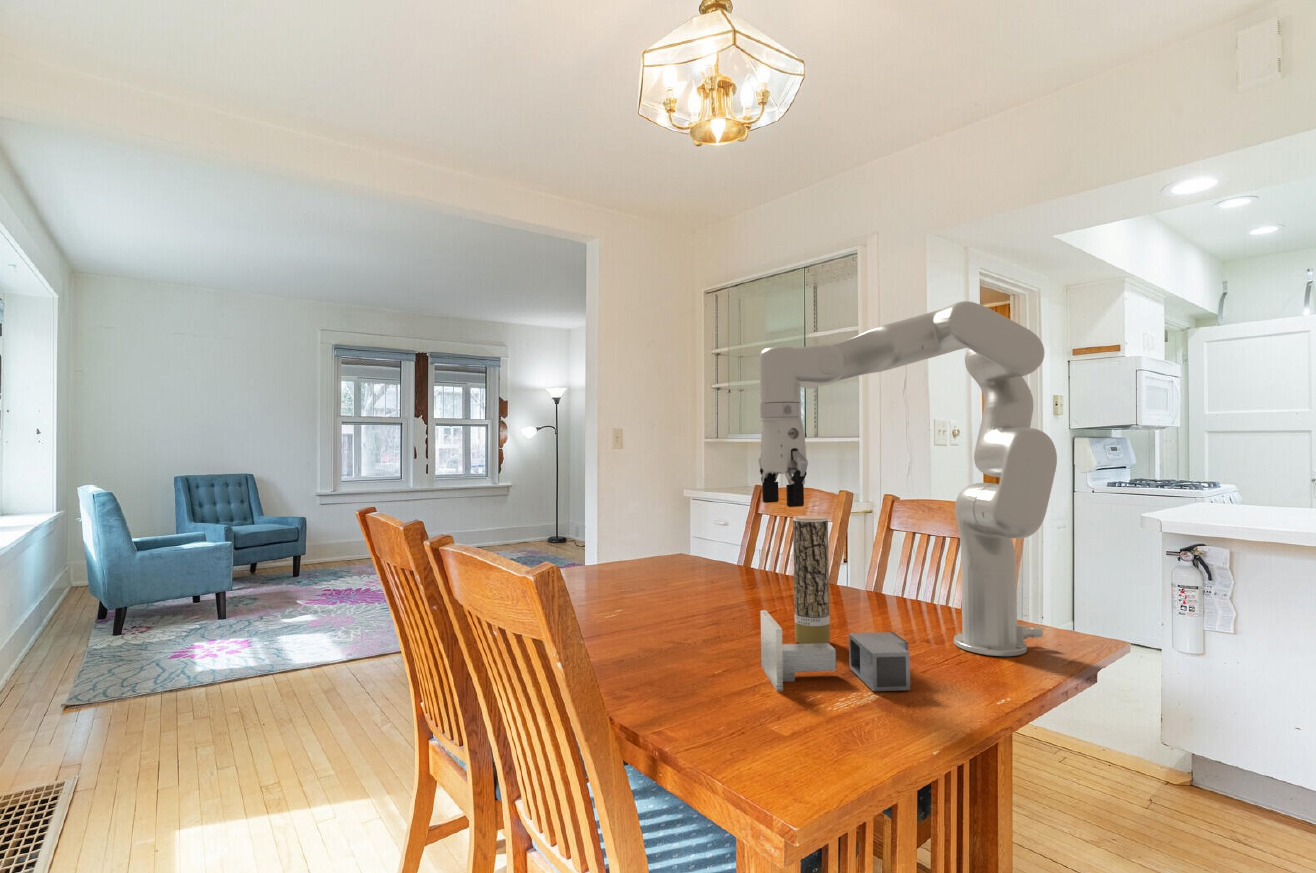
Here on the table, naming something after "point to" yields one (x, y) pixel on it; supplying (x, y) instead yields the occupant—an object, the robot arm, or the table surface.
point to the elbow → (880, 660)
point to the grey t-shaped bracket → (791, 655)
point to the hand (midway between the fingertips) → (782, 504)
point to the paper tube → (811, 579)
